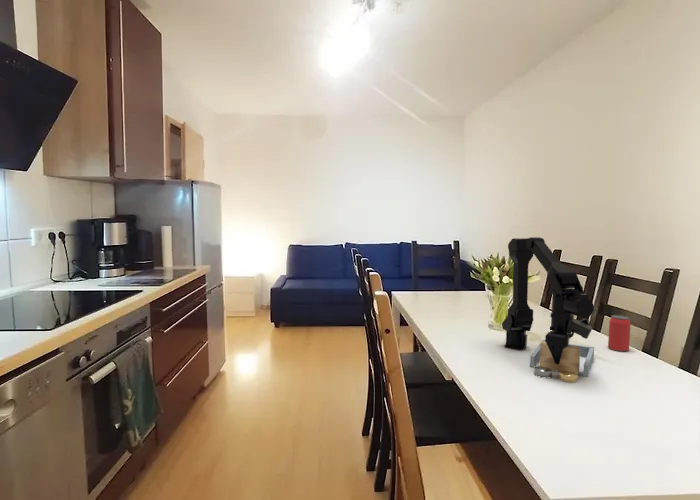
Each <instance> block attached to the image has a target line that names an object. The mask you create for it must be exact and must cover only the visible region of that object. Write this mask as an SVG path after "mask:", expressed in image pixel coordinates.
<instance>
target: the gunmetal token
mask: <svg viewBox="0 0 700 500" xmlns="http://www.w3.org/2000/svg"><path fill="white" fill-rule="evenodd" d="M534 374H535V375H534ZM533 375H534V376H536V375H537V376H536V377H538V376H540V377H539V378H542V377H546V378H545V379H548V378H547V377H550V378H552V377H553V370H552V369H550V368H548V367H542V366H540V365H539V366H535V367H533ZM551 376H552V377H551Z"/></svg>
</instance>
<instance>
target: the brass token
mask: <svg viewBox="0 0 700 500" xmlns="http://www.w3.org/2000/svg"><path fill="white" fill-rule="evenodd" d="M578 376H579V374H576V373H574V372H571V371H558V380H559V379H560V381H561V380H562V381H561V382H564V381H565V382H564V383H573V384H574V383H575V384H576V383H577V382H578Z"/></svg>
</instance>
